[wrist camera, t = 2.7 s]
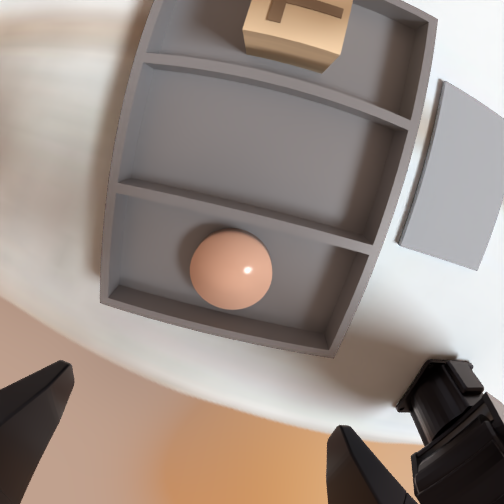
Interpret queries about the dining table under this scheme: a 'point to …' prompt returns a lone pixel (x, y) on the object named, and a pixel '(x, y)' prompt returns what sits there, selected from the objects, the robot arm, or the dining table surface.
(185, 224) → the organizer tray
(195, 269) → the peach egg shape
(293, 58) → the letter cube
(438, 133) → the mat
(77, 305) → the dining table surface
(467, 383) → the robot arm
